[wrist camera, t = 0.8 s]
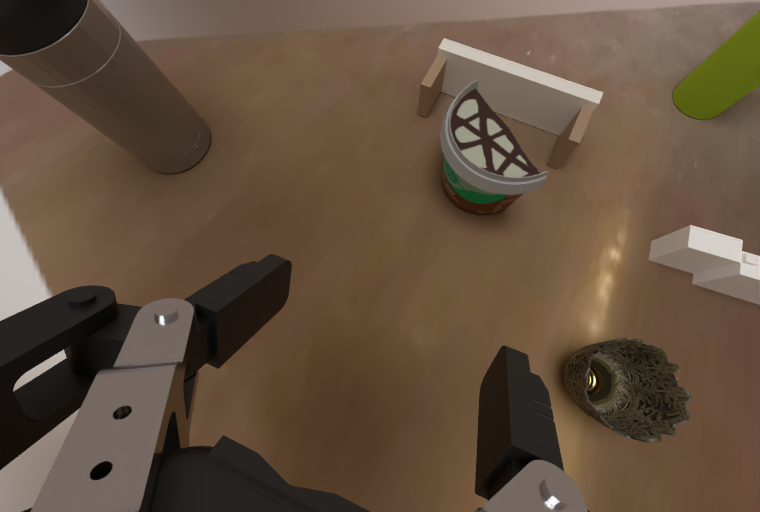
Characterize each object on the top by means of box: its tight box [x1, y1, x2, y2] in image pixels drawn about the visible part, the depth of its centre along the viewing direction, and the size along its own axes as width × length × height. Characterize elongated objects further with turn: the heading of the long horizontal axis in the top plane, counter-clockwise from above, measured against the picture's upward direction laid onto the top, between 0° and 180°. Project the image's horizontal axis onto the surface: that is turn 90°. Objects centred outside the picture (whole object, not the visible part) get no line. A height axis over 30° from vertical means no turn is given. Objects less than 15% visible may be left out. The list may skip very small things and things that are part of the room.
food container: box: [440, 79, 548, 215], centre depth 33 cm, size 12×6×10 cm, turn 27°
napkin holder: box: [649, 225, 760, 305], centre depth 32 cm, size 15×11×6 cm
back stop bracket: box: [418, 38, 603, 169], centre depth 37 cm, size 18×6×6 cm, turn 63°
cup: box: [564, 338, 692, 443], centre depth 28 cm, size 8×7×8 cm
